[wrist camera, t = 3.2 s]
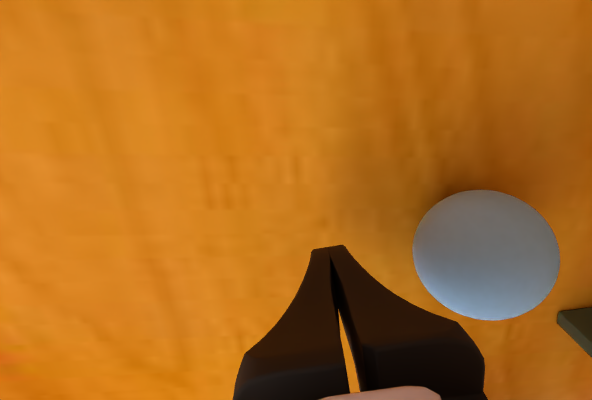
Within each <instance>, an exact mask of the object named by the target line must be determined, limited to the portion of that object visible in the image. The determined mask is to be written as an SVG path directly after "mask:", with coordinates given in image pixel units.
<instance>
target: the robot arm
mask: <svg viewBox="0 0 592 400" xmlns="http://www.w3.org/2000/svg"><path fill="white" fill-rule="evenodd" d="M338 309H339V313H340V316H341V319H342V323H343V326H344V329H345V333H346V336H347V339H348V342H349V346H350V349H351V352H352V356H353V360H354V363H355V368H356V373H357V378H358V383H359V388H360V392H358V393H351V394H350V390H349V384H348V377H347V371H346V365H345V359H344V354H343V348H342V344H341V339H340V326H339V314H338ZM484 374H485V363H484V358H483V356H482V354H481V352H480V351H479V349H478V347H477V346H476V344H475V343H474V341H473V340H472V339H471V338H470V336H469V335H468V334H467V333H466V332H465V330H464V329H463V328H462V327H461V326H460V325H459V324H458V322H456V321H453V320H450V319H447V318H444V317H441V316H439V315H436V314H433V313H431V312H428V311H426V310H424V309H422V308H419V307H417V306H415V305H413V304H411V303H409V302H408V301H406V300H404V299H402V298H400V297H399V296H397V295H396V294H394V293H392V292H391V291H390V290H388V289H387V288H385V287H384V286H383V285H382V284H380V283H379V282H378V281H377V280H375V279H374V278H373V277H372V276H371V275H370V274H369V273H368V272H367V271H366V270H365V269H364V268H363V267H362V266H361V265H360V264H359V263H358V262H357V261H356V260H355V259H354V258H353V257H352V255H351V254H350V253H349V252H348V250H347V249H346V247H345V246H343V245H338V246H332V247H325V248H319V249H313V251H312V252H311V258H310V262H309V265H308V269H307V271H306V274H305V277H304V279H303V281H302V284H301V286H300V288H299V290H298V292H297V294H296V296H295V298H294V299H293V301H292V303H291V304H290V306H289V307H288V309H287V310H286V312H285V313H284V314H283V316H282V317H281V319H280V320H279V321H278V322H277V324H276V325H275V326H274V327H273V328H272V329H271V330H270V331H269V332H268V333H267V335H266V336H265V337H264V338H262V339H261V340H260V341H259V342H258V343H257V344H256V345H254V346H253V347H252V348H251V349H250V350H248V351H247V352H246V353H245V354H244V357H243V360H242V362H241V365H240V368H239V372H238V375H237V379H236V383H235V389H234V396H233V400H488V399H487V397H486V395H485V394H484V392H483V388H484Z"/></svg>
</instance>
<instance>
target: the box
mask: <svg viewBox="0 0 592 400" xmlns="http://www.w3.org/2000/svg"><path fill="white" fill-rule="evenodd" d="M557 323H558V324H559V325H560V326H561V327H562V328H563V329H564V330H565V331H566V332H567V333H568V334H569V335H570V336H571V337H572V338H573V339H574V340H575V341H576V342H577V343H578V344H579V345H580V346H581V347H582V348H583V349H584V350H585V351H586V352H587V353H588V354H589V355H590V356H591V357H592V307H589V308H582V309H575V310H568V311H561V312H559V314H558V319H557Z"/></svg>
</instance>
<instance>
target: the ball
mask: <svg viewBox="0 0 592 400" xmlns="http://www.w3.org/2000/svg"><path fill="white" fill-rule="evenodd" d="M413 261H414V265H415V268H416V271H417V274H418V276H419V278H420V280H421V282H422V283H423V285H424V286H425V288H426V289H427V290H428V292H429V293H430V294H431V295H432V296H433V297H434V298H435V299H436V300H437V301H439V302H440V303H441V304H443V305H444V306H446V307H447V308H449V309H450V310H452V311H454V312H456V313H459V314H461V315H464V316H467V317H471V318H475V319H480V320H503V319H509V318H513V317H516V316H519V315H522V314H524V313H526V312H528V311H530V310H532V309H533V308H535V307H536V306H537V305H539V304H540V303H541V302H542V301H543V300H544V299H545V298H546V297H547V295H548V294H549V293H550V291H551V290H552V288H553V286H554V284H555V282H556V280H557V276H558V272H559V268H560V254H559V247H558V243H557V240H556V237H555V235H554V233H553V231H552V229H551V228H550V226H549V224H548V223H547V222H546V220H545V219H544V218H543V217H542V216H541V215H540V214H539V213H538V212H537V211H536V210H535V209H534V208H533V207H531V206H530V205H528V204H527V203H525V202H524V201H522V200H520V199H518V198H516V197H514V196H512V195H509V194H505V193H502V192H498V191H492V190H469V191H464V192H459V193H456V194H453V195H451V196H449V197H446V198H445V199H443V200H441V201H440V202H438V203H437V204H435V205H434V206H433V207H432V208H431V209H430V210H429V211H428V212H427V213H426V214H425V215H424V217H423V218H422V220H421V221H420V223H419V225H418V227H417V229H416V232H415V235H414V240H413Z"/></svg>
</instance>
